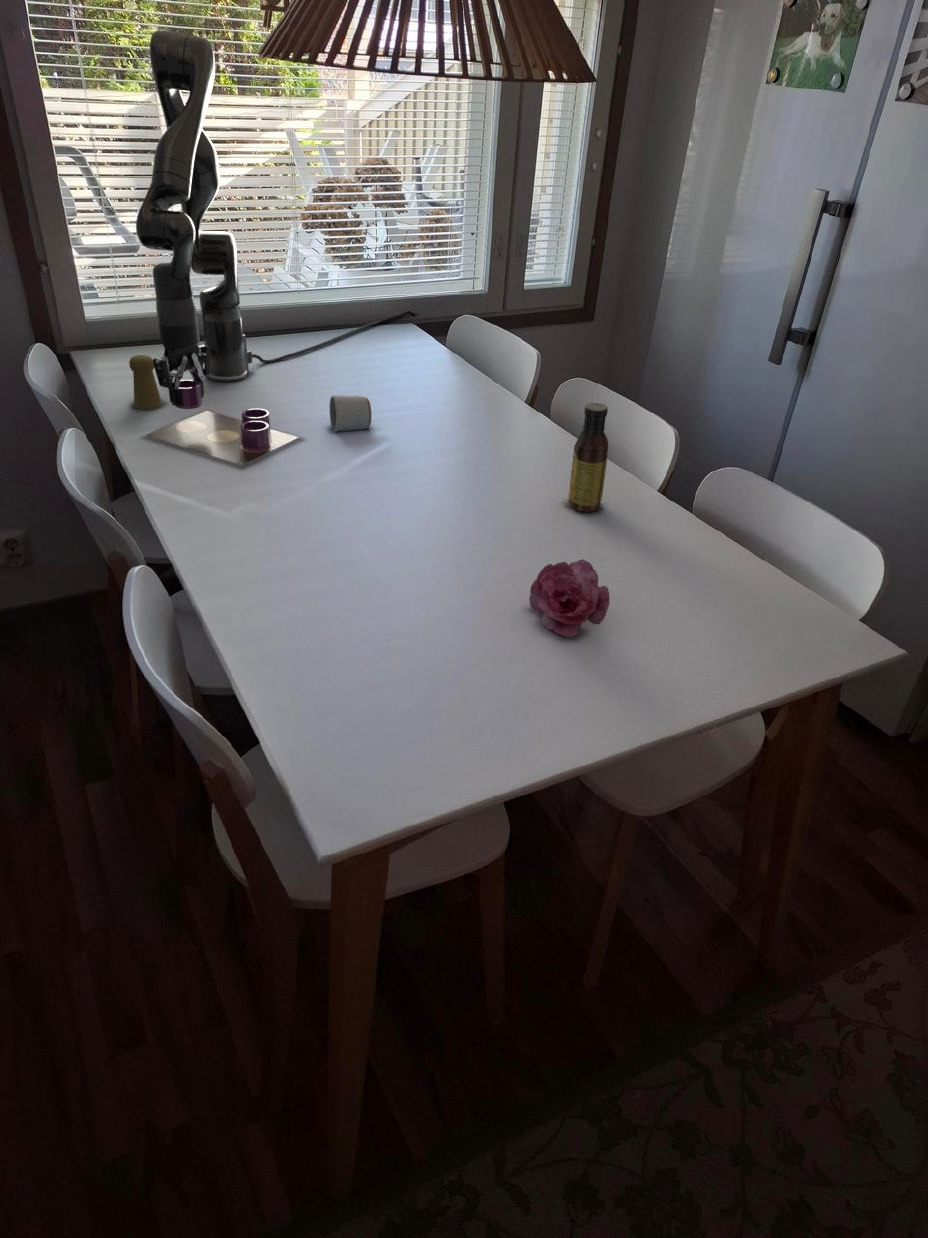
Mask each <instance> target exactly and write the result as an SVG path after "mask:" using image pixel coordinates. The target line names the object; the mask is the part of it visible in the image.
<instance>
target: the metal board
mask: <svg viewBox="0 0 928 1238" xmlns="http://www.w3.org/2000/svg"><path fill="white" fill-rule="evenodd" d="M241 424H242V419H241V420H240V419H237V418H233V417H231V416H228V415H227V416H226V415H223V414H219V413H216V412H212V411H210V410H205V411H203V412H201V413H197V414H196V415H193V416H190V417H188V418H185V419H183V420H180V421H178V422H176V423H172V424H170V425H168V426H165V427H163V428H160V429H159V430H155V431H153V432H150V433H148V434H146V435H145V436H146V437H150V438H153V439H156V440H158V441H159V440H160V441H161V442H162V441H163V442H166V443H169V444H172V445H174V446H178V447H181V448H186V449H188V450H191V451H195V452H198V453H201V454H204V455H207V456H210V457H214V458H217V459H220V460H223V461H226V462H230V463H233V464H236V465H239V466H243V465H246V464H248V463H249V462H252V461H254V460H256V459H258V458H260V457H262V456H265V455H266V454H269V453H270V452H273V451H274V450H276V449H279V448H280V447H282V446H284V445H287V444H289V443H291V442H293V441H295V440H298V439H299V438H300V437H299V436H297V435H293V434H288V433H285V432H282V431H279V430H275V429H272V428H271V430H270V431H271V433H270V447H269V448H268V449H266V450H263V451H248V450H245V449H244V448H243V447H242V440H241V430H240V426H241Z"/></svg>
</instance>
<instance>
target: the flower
mask: <svg viewBox="0 0 928 1238" xmlns="http://www.w3.org/2000/svg"><path fill="white" fill-rule="evenodd" d="M529 606H530V608H531V609H532V610H533V611H536V612H539V613H543V614H542V619H541V623H542V625H543V626H544V627H545V628H546V629H547V630H551V631H554V632H555V633H556V634H558V635H561V636H563V637H565V638H574V637H575V636H577V635H578V634H579V633H580V631H581V627H582V625H583V624H585V623H587V621H588V622H590V623H591V624H592V625H600V624H601V623H602V622H603V621H604V620H605V618H606V615H607V613H608V610H609V606H610V592H609V587H607V585H601V586H599V575H598V573H597V571H596V570H595V569H594V567H593V565H592V564H591V562H590V561H587V560H585V559H580V560H577V561H574V562H570V563H567V562H566V561H560V562H557V563H555V564H554V565H553V564H552V563H549V564H546V565H545V566H544V567H543V568H542V569H541V570H540V571H539V573H538V574H537V576H536V579H535V580H533V583H532V584H531V586H530V594H529Z"/></svg>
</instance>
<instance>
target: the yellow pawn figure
mask: <svg viewBox="0 0 928 1238" xmlns="http://www.w3.org/2000/svg"><path fill="white" fill-rule="evenodd" d="M153 359H154V358H152V357H151V356H150V355H147V354H138V355H137V354H136V355H133V356H132V357H131V358H130V359H129V361H128V364H129V368H130V370H131V372H132V373H133V374H132V375H133V406H134V408H135V409H138V410H155V409H158V408H160V407H162V406H163V401H162V398H161V395H160V392H159V388H158V385H157V381H156V377H155V374H154V370H155V368H154V364H153Z"/></svg>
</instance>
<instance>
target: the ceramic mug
mask: <svg viewBox="0 0 928 1238" xmlns="http://www.w3.org/2000/svg"><path fill="white" fill-rule="evenodd" d="M329 421H330V426H331V427H335V428H334V429H333V431H334V432H348V431H349V432H350V431H362V430H366V429H369V428H370V426H371V424H372V406H371V402H370V399H369V398H368V397H366V396H363V395H337V394H335V395H334V394H333V395H331V396H330V399H329Z"/></svg>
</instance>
